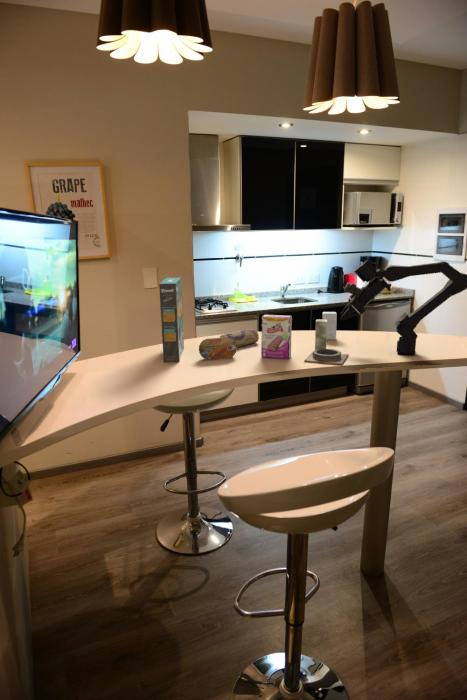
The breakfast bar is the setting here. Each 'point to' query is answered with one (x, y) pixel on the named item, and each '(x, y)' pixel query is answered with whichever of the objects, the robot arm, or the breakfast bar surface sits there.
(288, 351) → the candy bar box
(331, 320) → the skincare box
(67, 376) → the breakfast bar surface
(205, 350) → the brown printed food package
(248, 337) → the beige packaged roll
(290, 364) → the breakfast bar surface
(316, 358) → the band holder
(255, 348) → the breakfast bar surface
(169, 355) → the cake mix box
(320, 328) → the peg
